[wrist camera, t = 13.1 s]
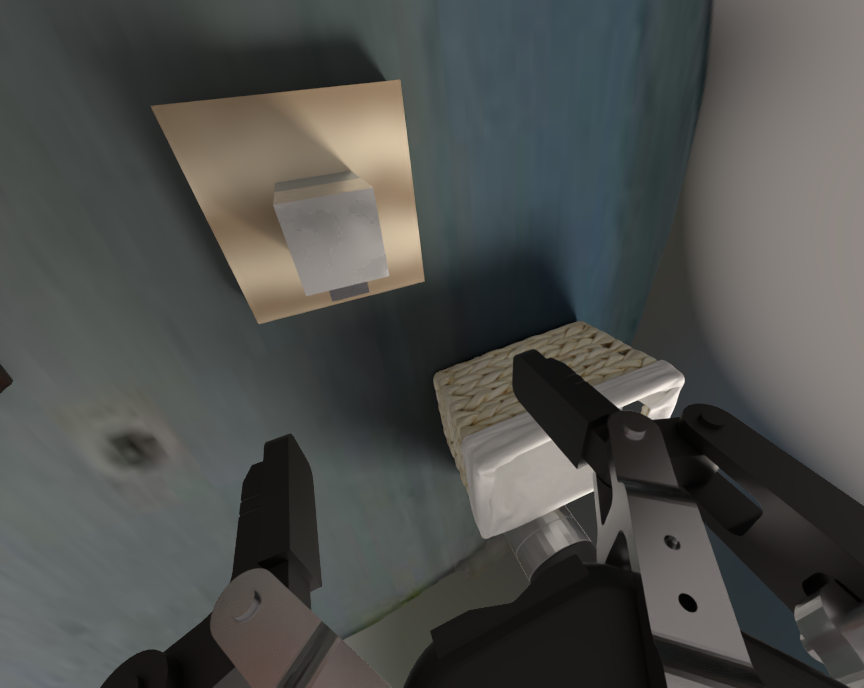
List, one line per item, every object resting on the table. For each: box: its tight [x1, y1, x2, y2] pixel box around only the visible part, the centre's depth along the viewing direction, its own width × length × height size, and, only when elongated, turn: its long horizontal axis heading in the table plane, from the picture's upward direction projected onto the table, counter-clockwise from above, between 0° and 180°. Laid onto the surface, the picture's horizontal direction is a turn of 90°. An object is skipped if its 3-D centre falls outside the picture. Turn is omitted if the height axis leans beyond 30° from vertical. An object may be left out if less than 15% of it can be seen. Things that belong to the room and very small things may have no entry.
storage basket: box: [433, 321, 685, 539], centre depth 40 cm, size 24×16×15 cm
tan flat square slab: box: [151, 80, 425, 324], centre depth 24 cm, size 14×14×3 cm
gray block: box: [273, 171, 389, 302], centre depth 21 cm, size 5×6×7 cm
